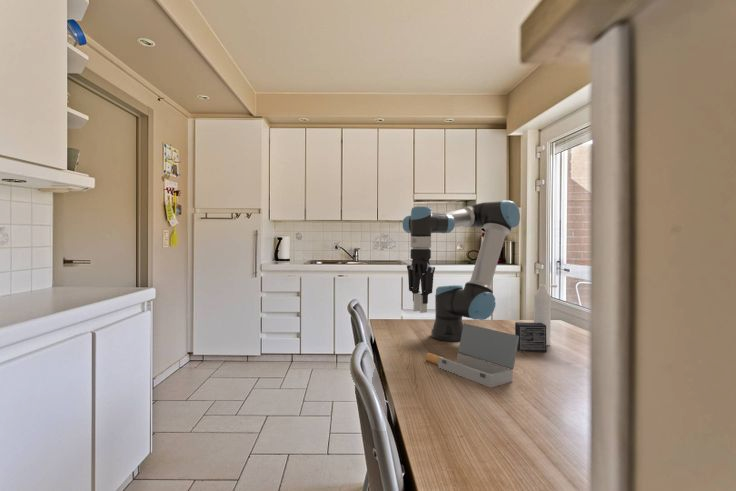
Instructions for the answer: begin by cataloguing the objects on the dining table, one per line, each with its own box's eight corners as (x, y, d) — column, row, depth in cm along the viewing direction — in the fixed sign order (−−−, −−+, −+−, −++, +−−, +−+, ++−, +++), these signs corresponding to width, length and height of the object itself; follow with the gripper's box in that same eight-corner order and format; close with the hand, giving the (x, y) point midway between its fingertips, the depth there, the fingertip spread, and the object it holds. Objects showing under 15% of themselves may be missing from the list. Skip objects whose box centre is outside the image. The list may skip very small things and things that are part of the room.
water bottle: (534, 345, 166) (535, 284, 166) (532, 341, 172) (533, 283, 172) (557, 346, 164) (558, 285, 163) (555, 343, 170) (556, 284, 169)
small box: (541, 348, 162) (541, 322, 162) (547, 352, 155) (547, 325, 155) (514, 347, 163) (514, 321, 163) (518, 351, 156) (519, 324, 156)
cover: (463, 323, 142) (465, 323, 143) (458, 352, 141) (460, 352, 141) (517, 335, 124) (519, 336, 124) (511, 369, 122) (513, 369, 123)
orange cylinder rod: (428, 362, 144) (423, 358, 143) (432, 355, 145) (428, 351, 144) (448, 370, 135) (443, 365, 134) (453, 362, 137) (448, 357, 135)
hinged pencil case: (437, 367, 135) (437, 357, 135) (459, 362, 141) (459, 352, 141) (490, 388, 117) (490, 376, 117) (512, 381, 123) (512, 369, 123)
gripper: (399, 248, 153) (398, 309, 154) (427, 249, 140) (427, 316, 140) (414, 248, 158) (413, 307, 158) (443, 248, 144) (442, 314, 145)
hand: (420, 311), depth 149 cm, fingers open, 3 cm apart
